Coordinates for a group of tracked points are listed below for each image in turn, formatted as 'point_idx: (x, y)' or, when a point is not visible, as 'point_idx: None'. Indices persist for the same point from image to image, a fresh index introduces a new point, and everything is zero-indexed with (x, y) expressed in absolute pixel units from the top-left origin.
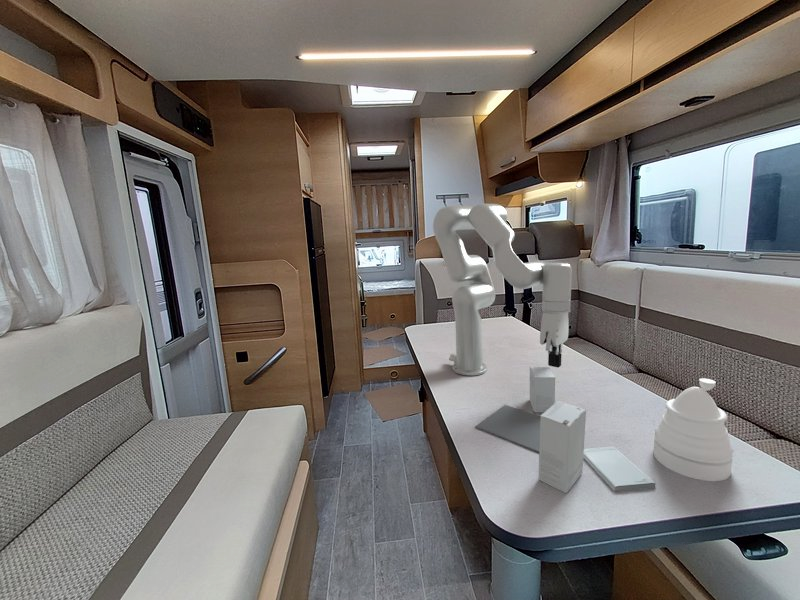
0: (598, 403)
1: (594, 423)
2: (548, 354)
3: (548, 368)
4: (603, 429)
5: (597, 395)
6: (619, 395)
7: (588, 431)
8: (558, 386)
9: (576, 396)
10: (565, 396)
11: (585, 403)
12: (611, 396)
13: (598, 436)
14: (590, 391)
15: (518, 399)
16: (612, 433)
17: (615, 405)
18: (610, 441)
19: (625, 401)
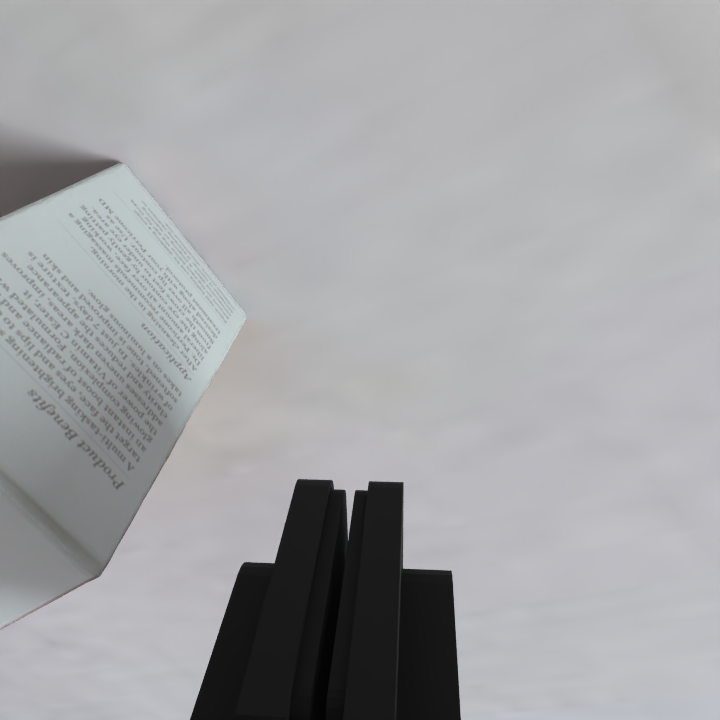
0: (465, 606)
1: (153, 639)
2: (248, 668)
3: (31, 587)
4: (126, 680)
5: (619, 576)
6: (705, 676)
7: (37, 634)
8: (661, 265)
9: (499, 467)
10: (440, 399)
11: (405, 546)
12: (654, 644)
13: (33, 675)
14: (681, 523)
15: (37, 53)
16: (122, 712)
17: (501, 680)
18: (37, 716)
19: (609, 711)
